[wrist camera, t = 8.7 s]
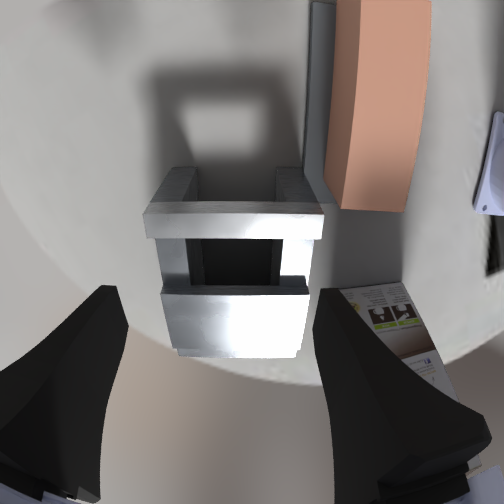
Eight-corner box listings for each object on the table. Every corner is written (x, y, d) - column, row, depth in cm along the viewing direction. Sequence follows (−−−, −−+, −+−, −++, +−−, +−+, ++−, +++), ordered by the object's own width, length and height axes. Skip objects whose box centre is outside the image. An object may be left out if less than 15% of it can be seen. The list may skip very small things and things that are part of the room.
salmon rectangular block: (395, 9, 12) (431, 1, 9) (376, 183, 18) (403, 212, 15) (336, -4, 12) (361, -20, 9) (323, 179, 18) (340, 208, 15)
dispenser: (301, 167, 18) (324, 214, 13) (287, 306, 24) (296, 371, 19) (172, 167, 18) (142, 214, 13) (188, 305, 24) (176, 370, 19)
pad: (409, 23, 13) (414, 22, 12) (387, 202, 20) (391, 206, 19) (311, 3, 13) (313, 1, 12) (299, 198, 19) (301, 202, 19)
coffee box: (327, 289, 24) (379, 504, 10) (403, 279, 23) (488, 464, 10) (321, 361, 29) (349, 524, 15) (384, 351, 28) (430, 501, 15)
